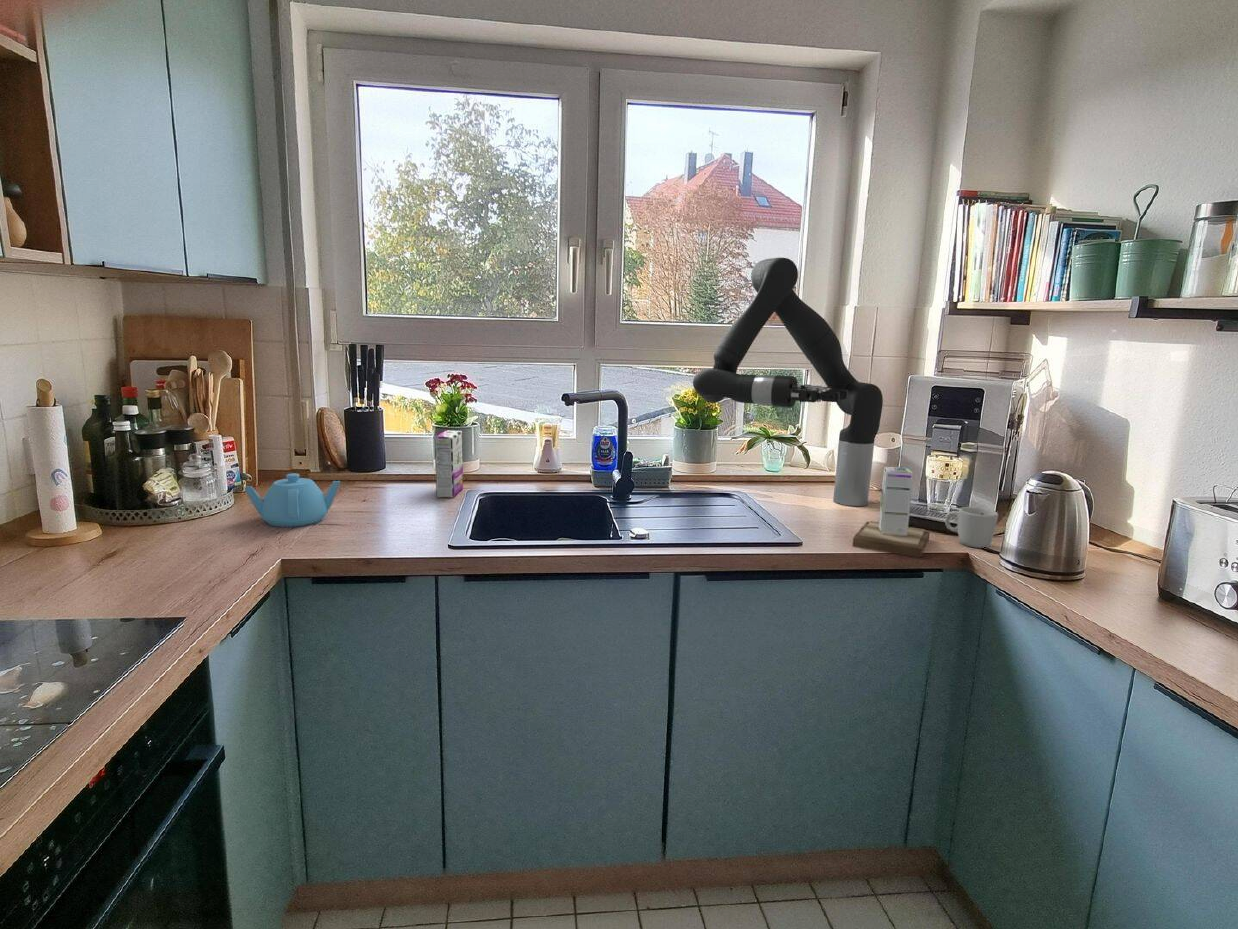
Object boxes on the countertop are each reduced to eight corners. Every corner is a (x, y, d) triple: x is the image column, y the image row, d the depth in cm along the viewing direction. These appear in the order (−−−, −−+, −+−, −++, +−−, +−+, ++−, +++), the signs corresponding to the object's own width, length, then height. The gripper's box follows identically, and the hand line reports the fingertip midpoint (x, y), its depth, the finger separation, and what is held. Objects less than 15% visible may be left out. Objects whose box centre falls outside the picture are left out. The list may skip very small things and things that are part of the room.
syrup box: (907, 536, 157) (915, 472, 154) (879, 534, 158) (886, 470, 155) (903, 529, 162) (911, 467, 160) (876, 527, 164) (883, 465, 161)
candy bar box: (445, 488, 198) (444, 429, 195) (463, 488, 198) (463, 430, 195) (434, 497, 187) (433, 436, 184) (453, 498, 187) (453, 436, 184)
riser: (866, 529, 171) (867, 519, 170) (928, 539, 164) (930, 529, 164) (852, 546, 157) (853, 535, 157) (920, 557, 151) (921, 546, 150)
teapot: (241, 524, 158) (237, 476, 156) (293, 508, 172) (291, 465, 170) (295, 533, 153) (292, 484, 151) (344, 516, 167) (342, 471, 165)
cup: (937, 541, 163) (941, 508, 161) (949, 535, 169) (953, 502, 167) (987, 553, 156) (992, 517, 154) (998, 545, 162) (1003, 511, 160)
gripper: (766, 376, 164) (837, 381, 156) (784, 373, 176) (851, 378, 168) (764, 408, 165) (834, 415, 158) (781, 404, 177) (848, 409, 170)
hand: (843, 396), depth 163 cm, fingers open, 8 cm apart
